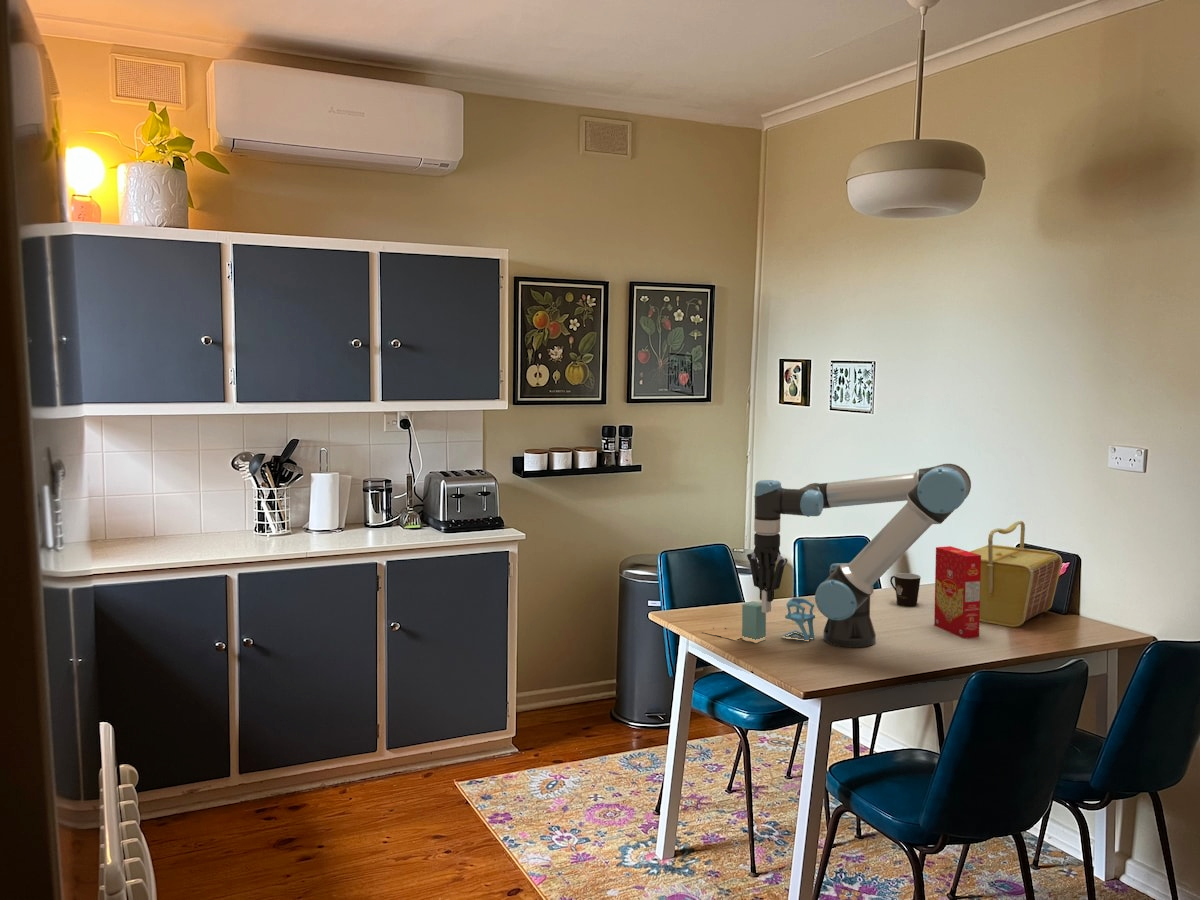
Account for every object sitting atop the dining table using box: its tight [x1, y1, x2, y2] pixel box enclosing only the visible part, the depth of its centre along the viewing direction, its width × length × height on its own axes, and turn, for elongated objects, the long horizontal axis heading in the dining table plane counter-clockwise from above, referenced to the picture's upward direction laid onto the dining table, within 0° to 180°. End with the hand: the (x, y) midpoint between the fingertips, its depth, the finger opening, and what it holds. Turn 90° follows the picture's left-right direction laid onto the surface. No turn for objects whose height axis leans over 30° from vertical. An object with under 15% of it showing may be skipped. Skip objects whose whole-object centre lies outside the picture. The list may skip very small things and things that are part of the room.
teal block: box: [741, 601, 767, 640], centre depth 274 cm, size 5×5×11 cm
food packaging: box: [933, 545, 981, 639], centre depth 281 cm, size 15×5×25 cm, turn 14°
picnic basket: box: [969, 520, 1063, 628], centre depth 298 cm, size 29×26×30 cm
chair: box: [781, 597, 816, 641], centre depth 276 cm, size 8×8×12 cm
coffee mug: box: [889, 572, 922, 608], centre depth 315 cm, size 12×9×10 cm
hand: (766, 611), depth 271 cm, fingers closed
